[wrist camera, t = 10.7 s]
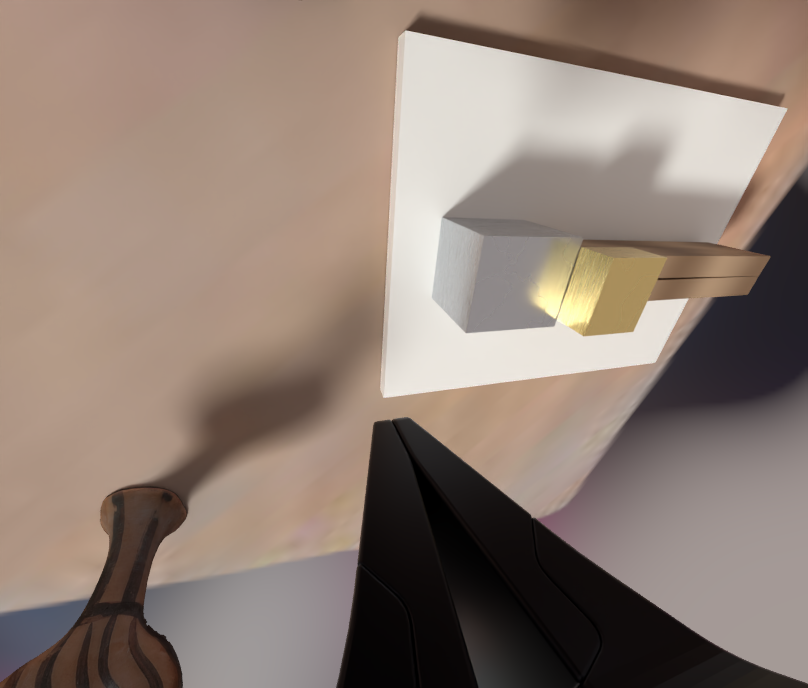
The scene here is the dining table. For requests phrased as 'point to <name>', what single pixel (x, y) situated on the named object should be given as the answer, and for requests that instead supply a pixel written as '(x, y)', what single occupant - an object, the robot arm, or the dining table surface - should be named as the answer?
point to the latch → (609, 289)
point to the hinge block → (502, 273)
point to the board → (546, 193)
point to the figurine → (116, 608)
